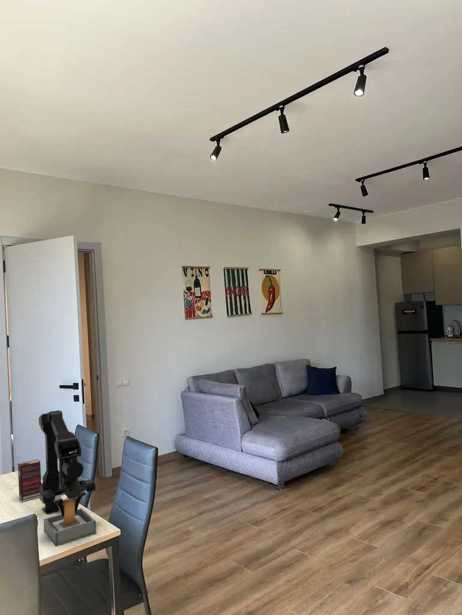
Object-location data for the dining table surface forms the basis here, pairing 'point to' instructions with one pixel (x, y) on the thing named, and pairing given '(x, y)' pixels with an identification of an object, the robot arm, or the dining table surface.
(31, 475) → the supplement box
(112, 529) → the dining table surface
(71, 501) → the plug
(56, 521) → the inlet box
